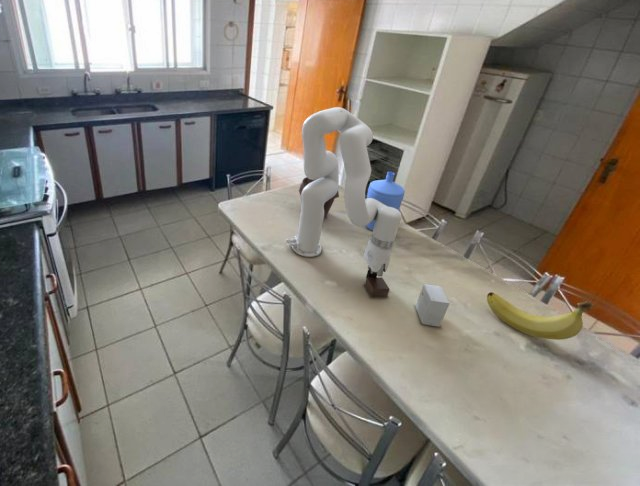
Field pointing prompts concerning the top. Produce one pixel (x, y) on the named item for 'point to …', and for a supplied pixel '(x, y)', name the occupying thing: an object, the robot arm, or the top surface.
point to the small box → (432, 305)
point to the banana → (539, 319)
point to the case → (327, 204)
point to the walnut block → (376, 287)
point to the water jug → (386, 193)
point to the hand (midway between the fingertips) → (370, 279)
